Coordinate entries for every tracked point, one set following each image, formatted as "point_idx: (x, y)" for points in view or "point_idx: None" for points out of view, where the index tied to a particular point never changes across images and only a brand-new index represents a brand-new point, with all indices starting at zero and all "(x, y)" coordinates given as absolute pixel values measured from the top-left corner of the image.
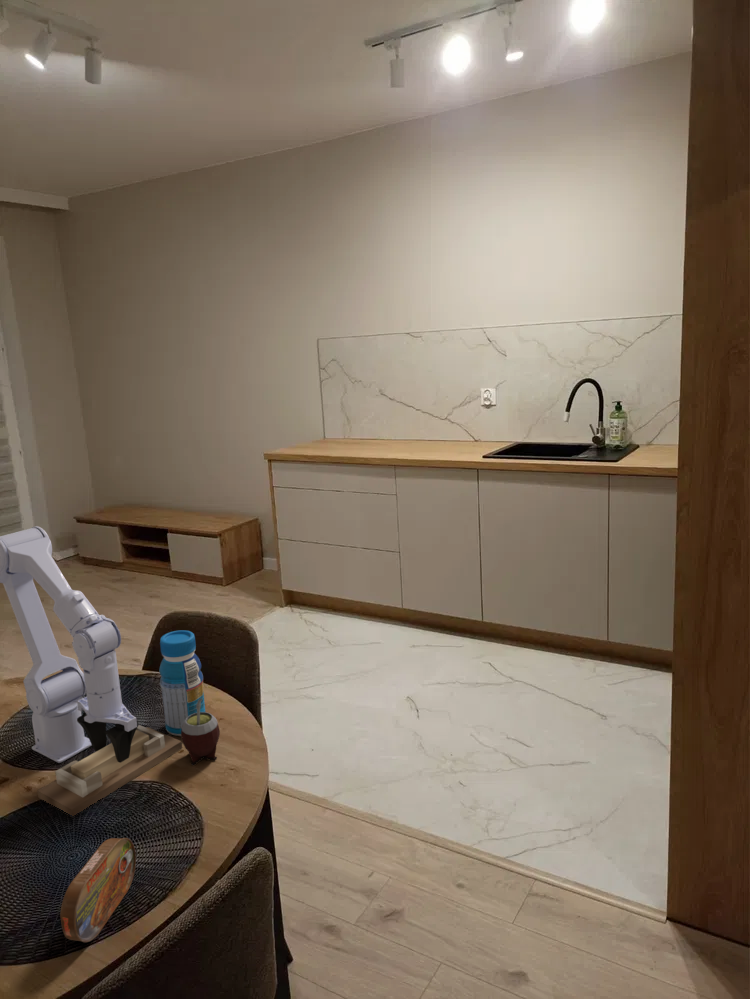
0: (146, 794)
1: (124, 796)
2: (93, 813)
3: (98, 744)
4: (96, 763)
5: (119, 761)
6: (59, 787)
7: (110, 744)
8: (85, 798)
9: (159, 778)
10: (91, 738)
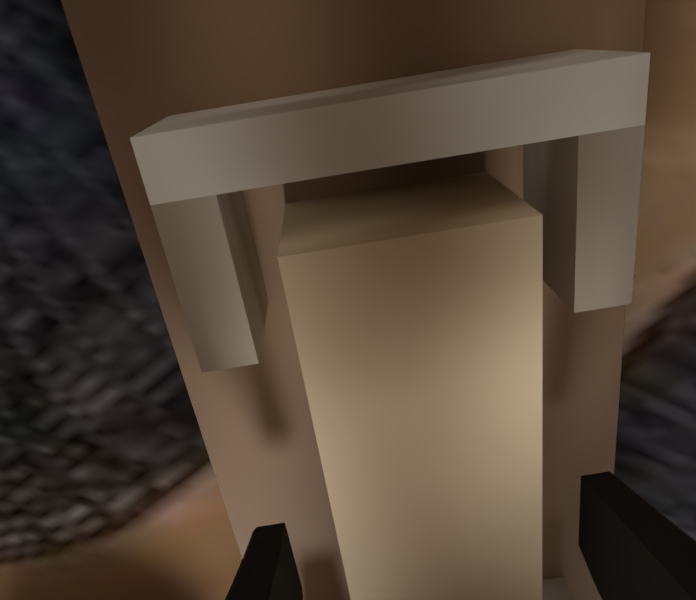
0: (8, 449)
1: (83, 355)
2: (19, 109)
3: (605, 541)
4: (351, 410)
5: (253, 535)
6: (498, 34)
7: (528, 588)
8: (133, 126)
9: (124, 554)
10: (675, 581)
